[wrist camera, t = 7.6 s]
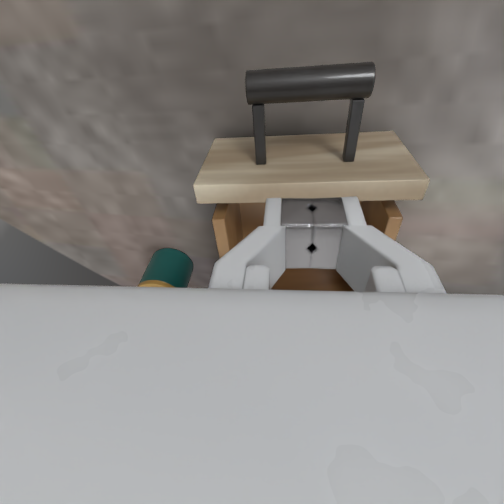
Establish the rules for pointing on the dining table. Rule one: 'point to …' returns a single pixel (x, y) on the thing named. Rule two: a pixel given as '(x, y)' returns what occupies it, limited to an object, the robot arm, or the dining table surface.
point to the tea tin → (168, 270)
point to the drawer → (307, 164)
